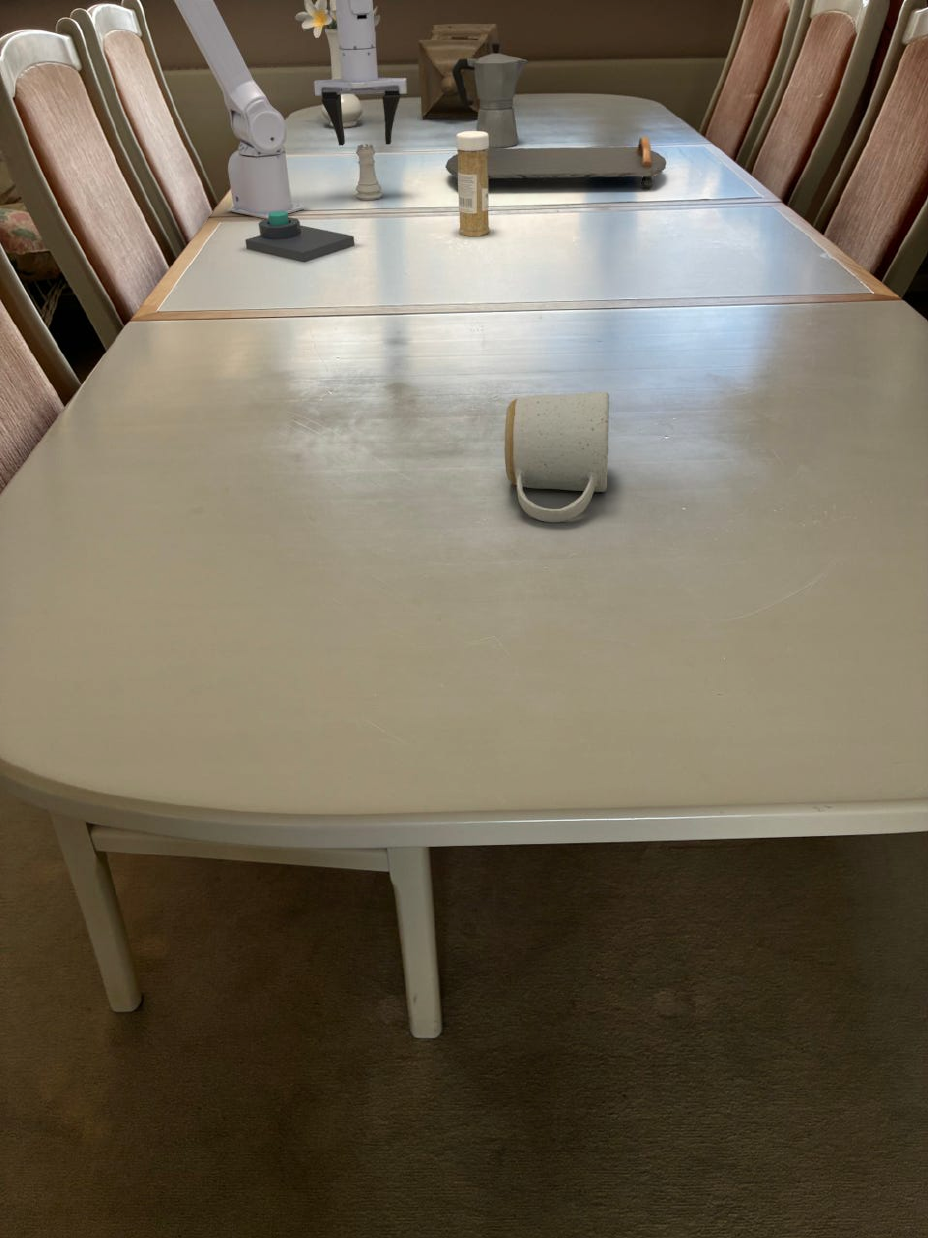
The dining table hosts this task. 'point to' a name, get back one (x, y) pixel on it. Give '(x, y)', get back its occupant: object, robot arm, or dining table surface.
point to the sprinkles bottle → (473, 182)
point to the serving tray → (573, 162)
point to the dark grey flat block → (297, 241)
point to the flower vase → (332, 52)
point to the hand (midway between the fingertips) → (365, 143)
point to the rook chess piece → (367, 174)
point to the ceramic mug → (558, 448)
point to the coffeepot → (493, 94)
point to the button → (278, 218)
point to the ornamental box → (451, 68)
